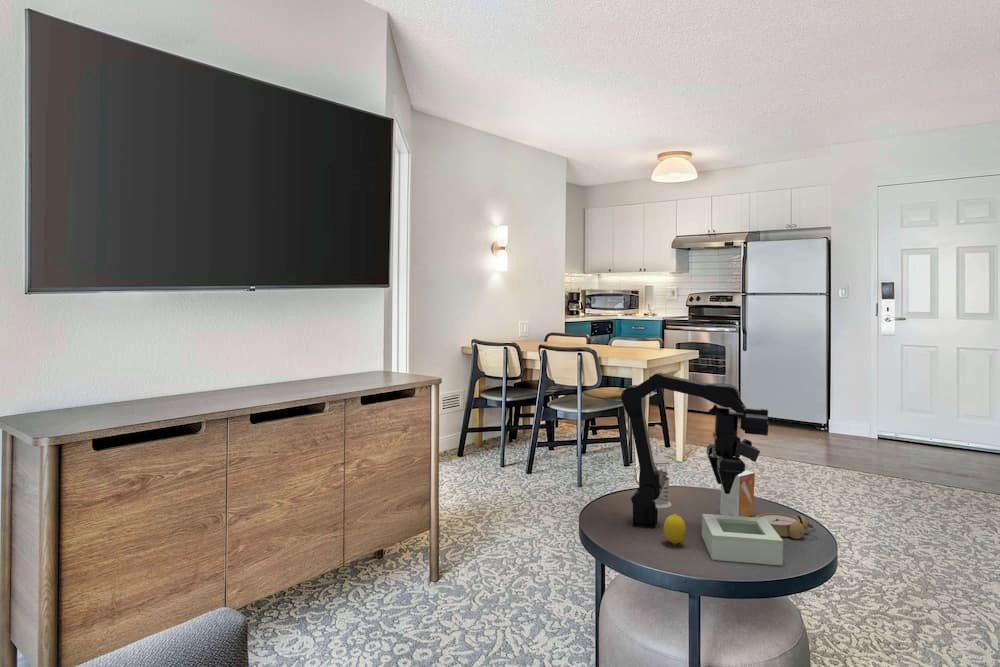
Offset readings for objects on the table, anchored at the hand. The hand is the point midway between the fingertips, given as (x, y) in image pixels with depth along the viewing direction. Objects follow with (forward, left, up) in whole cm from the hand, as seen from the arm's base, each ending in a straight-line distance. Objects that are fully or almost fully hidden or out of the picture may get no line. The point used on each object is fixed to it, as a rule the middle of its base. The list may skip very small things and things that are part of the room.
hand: (723, 488), depth 157 cm
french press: (-16, +25, -13) cm, 33 cm away
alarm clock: (+18, +7, -13) cm, 23 cm away
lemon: (-13, -9, -13) cm, 21 cm away
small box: (+8, +19, -13) cm, 24 cm away
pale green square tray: (+3, -9, -13) cm, 16 cm away
